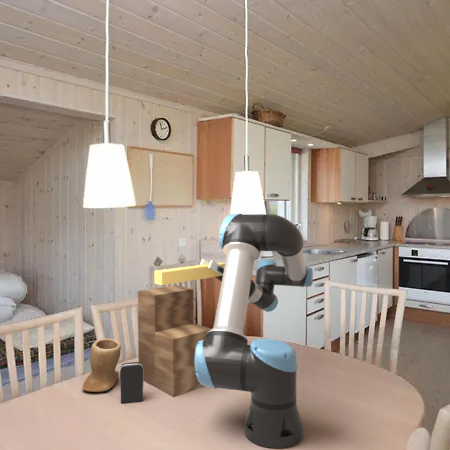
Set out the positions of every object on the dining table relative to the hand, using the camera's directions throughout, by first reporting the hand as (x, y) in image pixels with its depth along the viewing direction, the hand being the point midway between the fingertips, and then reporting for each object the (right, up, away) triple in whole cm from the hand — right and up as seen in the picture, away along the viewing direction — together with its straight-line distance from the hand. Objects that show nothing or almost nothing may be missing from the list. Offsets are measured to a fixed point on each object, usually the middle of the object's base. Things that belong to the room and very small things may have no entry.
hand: (205, 263), depth 148 cm
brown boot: (-33, -40, -4) cm, 52 cm away
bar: (-4, -5, -3) cm, 7 cm away
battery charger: (-22, -40, -16) cm, 48 cm away
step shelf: (-10, -39, -1) cm, 41 cm away
